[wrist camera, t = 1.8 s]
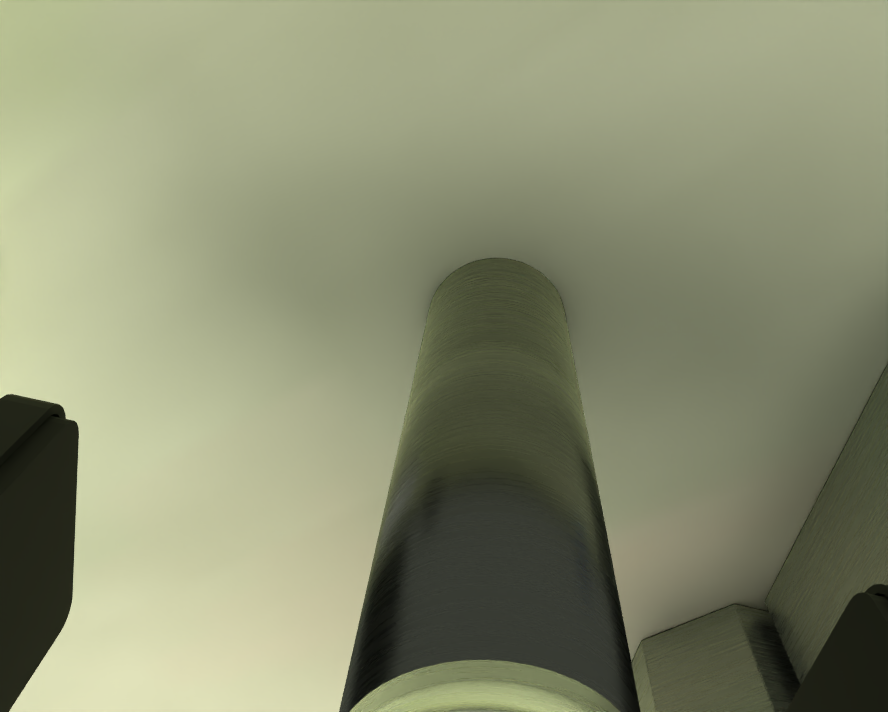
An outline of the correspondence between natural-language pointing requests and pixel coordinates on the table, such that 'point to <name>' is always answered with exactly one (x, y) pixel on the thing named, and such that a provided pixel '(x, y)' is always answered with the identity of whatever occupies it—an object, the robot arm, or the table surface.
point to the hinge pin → (493, 522)
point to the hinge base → (784, 596)
